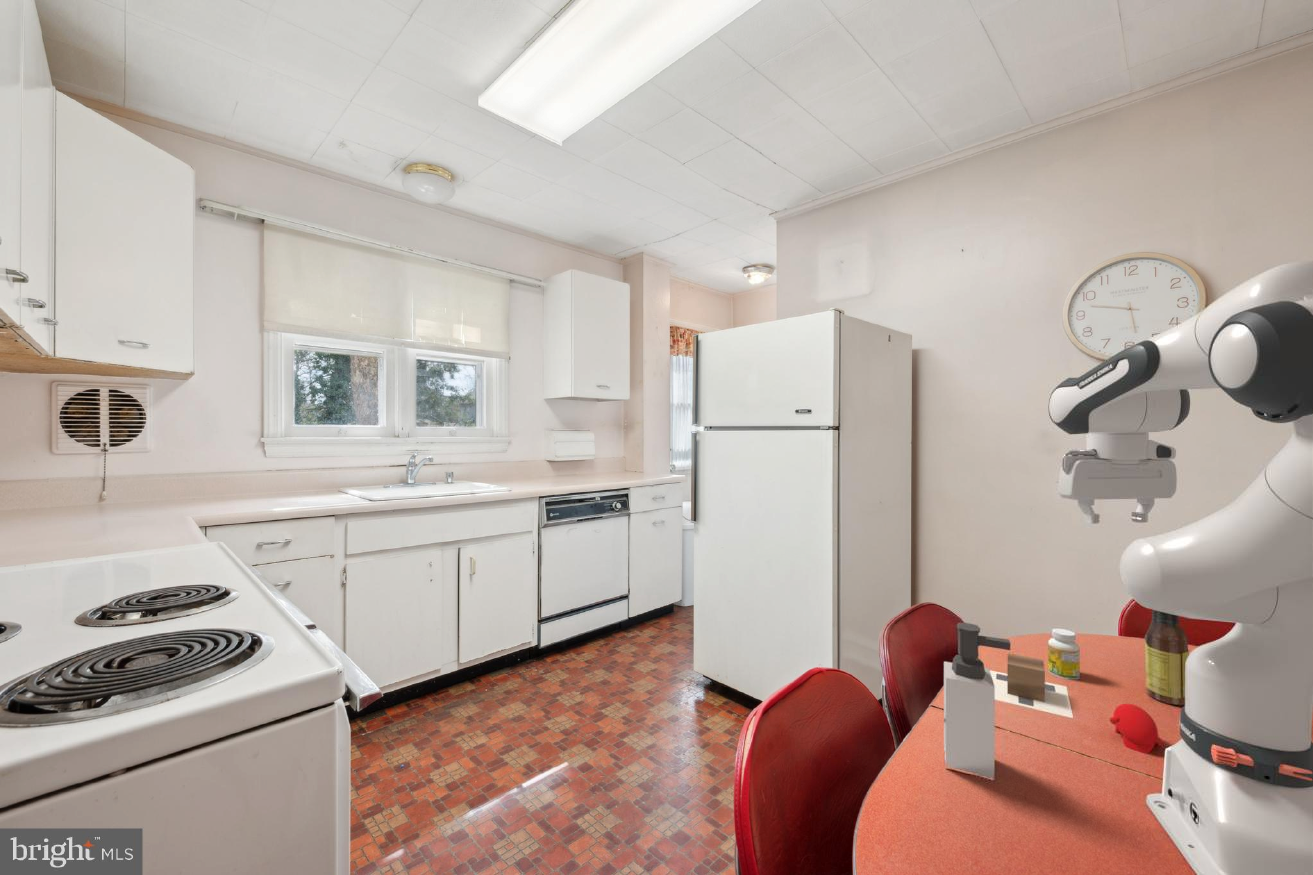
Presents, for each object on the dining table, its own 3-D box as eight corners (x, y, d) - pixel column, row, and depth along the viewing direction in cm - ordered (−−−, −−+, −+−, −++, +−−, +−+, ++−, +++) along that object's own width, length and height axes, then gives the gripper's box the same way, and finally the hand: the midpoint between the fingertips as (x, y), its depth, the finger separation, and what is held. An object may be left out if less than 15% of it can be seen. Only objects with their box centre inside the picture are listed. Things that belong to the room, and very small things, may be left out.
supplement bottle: (1084, 683, 110) (1084, 638, 109) (1053, 679, 111) (1053, 634, 111) (1073, 672, 115) (1073, 628, 114) (1044, 668, 116) (1044, 625, 116)
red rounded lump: (1104, 707, 94) (1100, 700, 91) (1147, 705, 91) (1144, 698, 88) (1124, 759, 90) (1121, 754, 86) (1170, 759, 86) (1168, 754, 83)
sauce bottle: (1170, 691, 106) (1171, 594, 106) (1199, 708, 100) (1200, 604, 99) (1135, 690, 107) (1136, 593, 106) (1162, 706, 100) (1163, 603, 100)
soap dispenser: (1012, 785, 79) (1013, 639, 78) (945, 768, 83) (946, 630, 82) (1006, 760, 85) (1006, 625, 84) (943, 746, 88) (944, 616, 88)
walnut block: (1044, 702, 101) (1044, 671, 101) (1007, 693, 105) (1007, 663, 104) (1043, 689, 106) (1043, 659, 106) (1007, 681, 109) (1007, 652, 109)
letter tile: (1073, 721, 96) (1073, 718, 96) (982, 699, 103) (982, 696, 103) (1066, 689, 107) (1066, 686, 107) (985, 672, 115) (985, 669, 115)
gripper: (1077, 450, 95) (1076, 526, 95) (1185, 449, 96) (1184, 524, 96) (1049, 449, 101) (1048, 520, 101) (1150, 447, 102) (1150, 518, 102)
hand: (1115, 522), depth 99 cm, fingers open, 8 cm apart
